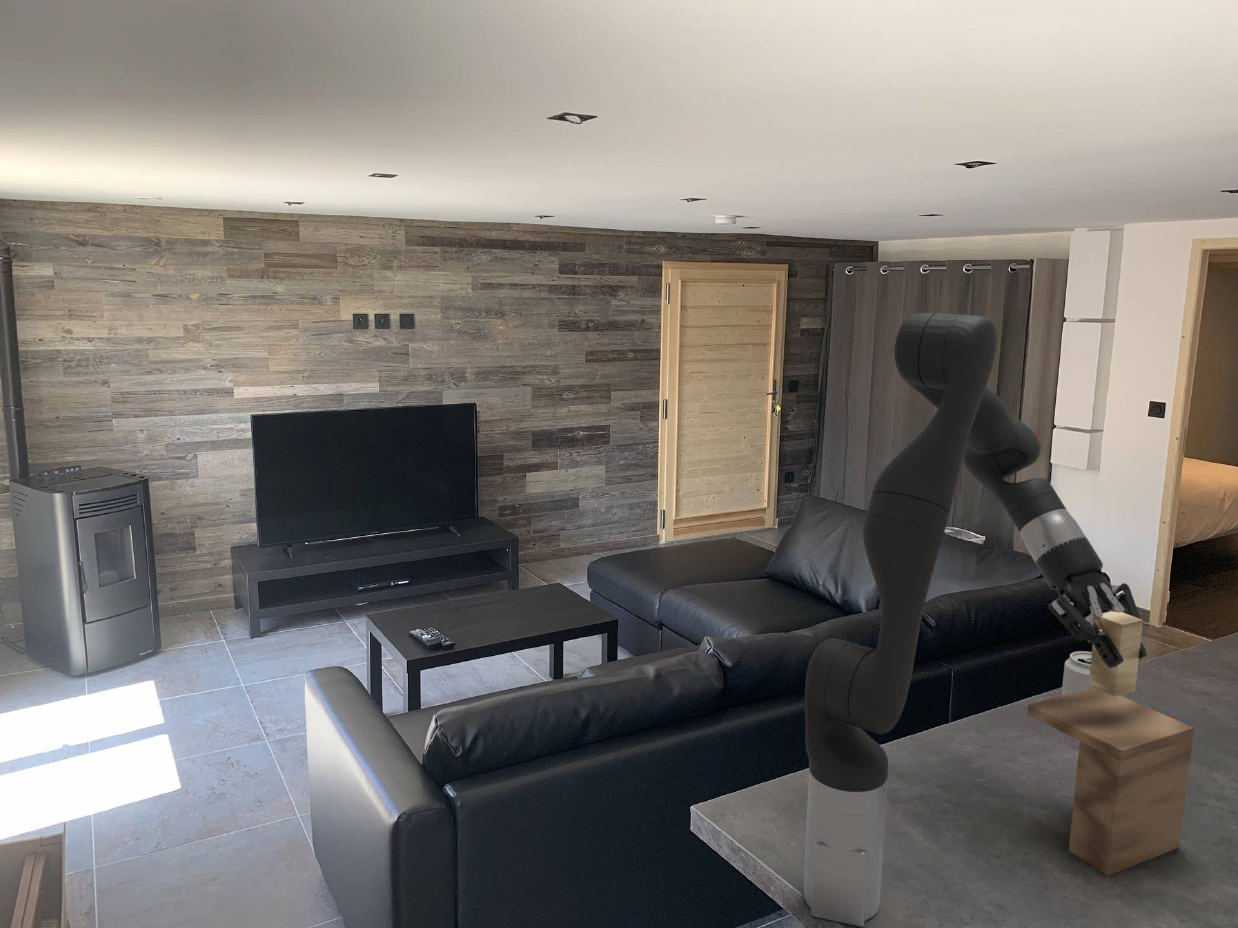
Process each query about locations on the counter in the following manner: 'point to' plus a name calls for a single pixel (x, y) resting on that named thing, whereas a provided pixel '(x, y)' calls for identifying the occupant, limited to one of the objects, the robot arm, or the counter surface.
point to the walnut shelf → (1122, 776)
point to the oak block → (1127, 642)
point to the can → (1076, 672)
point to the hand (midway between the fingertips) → (1128, 661)
